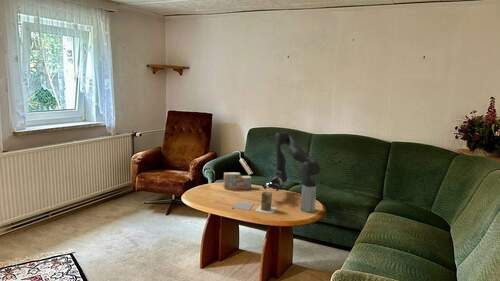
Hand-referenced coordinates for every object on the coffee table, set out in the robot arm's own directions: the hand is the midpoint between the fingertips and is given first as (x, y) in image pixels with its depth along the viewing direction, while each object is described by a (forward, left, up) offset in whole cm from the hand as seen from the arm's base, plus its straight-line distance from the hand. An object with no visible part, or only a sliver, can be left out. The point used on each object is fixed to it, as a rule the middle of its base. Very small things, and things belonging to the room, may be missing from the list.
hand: (270, 188), depth 256 cm
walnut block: (0, +12, -10) cm, 16 cm away
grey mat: (+16, +12, -11) cm, 23 cm away
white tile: (0, +12, -11) cm, 17 cm away
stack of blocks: (+33, -29, -11) cm, 46 cm away
